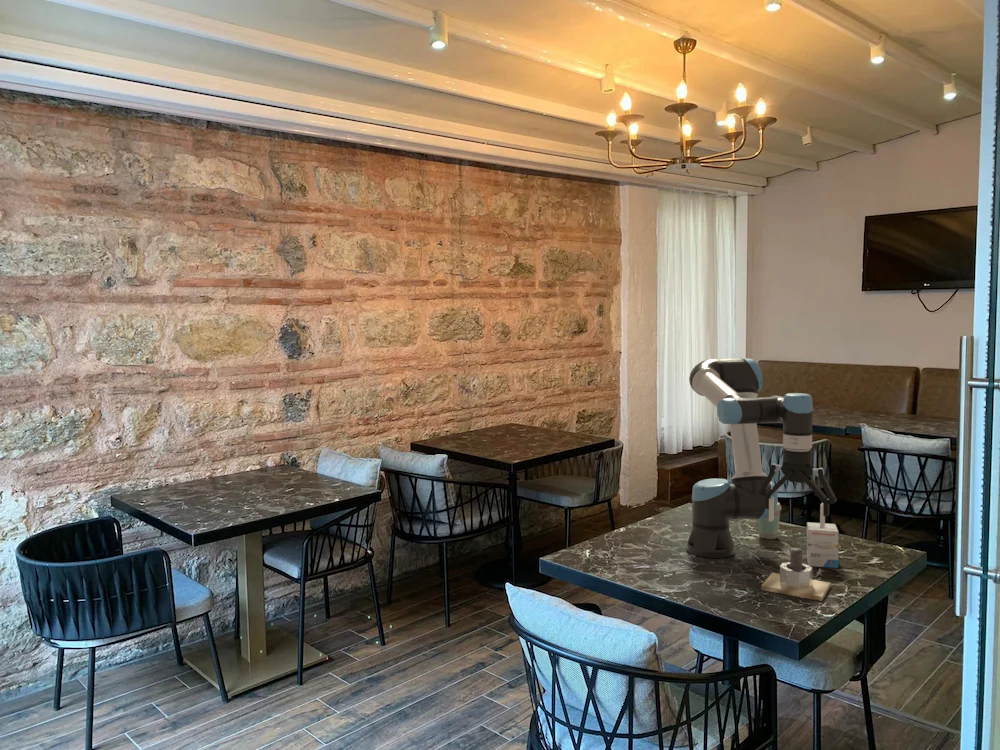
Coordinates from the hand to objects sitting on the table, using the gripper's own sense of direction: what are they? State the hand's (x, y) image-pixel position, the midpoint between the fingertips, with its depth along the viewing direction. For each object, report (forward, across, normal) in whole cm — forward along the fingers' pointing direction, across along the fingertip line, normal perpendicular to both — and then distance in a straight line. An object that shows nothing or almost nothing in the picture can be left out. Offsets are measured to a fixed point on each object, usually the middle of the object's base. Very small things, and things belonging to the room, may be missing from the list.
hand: (796, 523), depth 207 cm
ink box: (+19, +2, +26) cm, 32 cm away
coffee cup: (+19, -19, +45) cm, 52 cm away
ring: (+17, 0, 0) cm, 17 cm away
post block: (+19, 0, 0) cm, 19 cm away
